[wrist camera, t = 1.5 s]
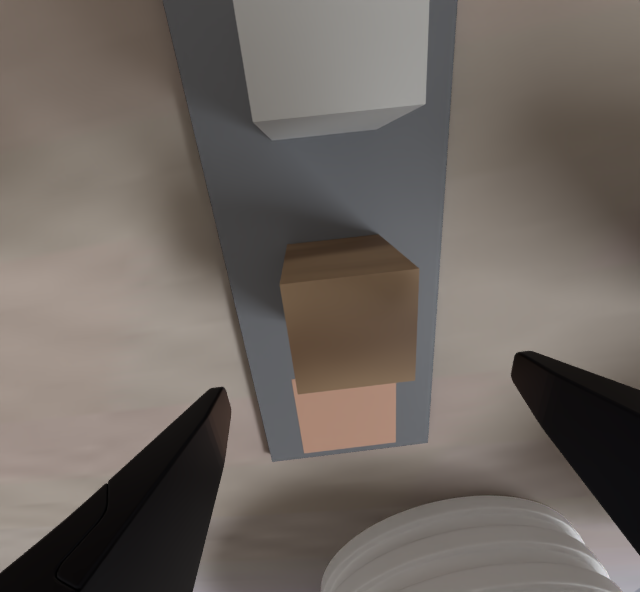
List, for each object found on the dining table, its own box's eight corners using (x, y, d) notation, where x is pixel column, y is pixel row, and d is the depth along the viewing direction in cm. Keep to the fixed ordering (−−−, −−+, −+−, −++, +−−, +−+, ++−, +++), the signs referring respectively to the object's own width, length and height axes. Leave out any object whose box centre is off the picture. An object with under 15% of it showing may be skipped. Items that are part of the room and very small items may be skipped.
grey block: (251, 2, 12) (209, -141, 6) (374, -11, 12) (435, -161, 7) (271, 140, 14) (252, 122, 8) (376, 129, 14) (425, 103, 8)
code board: (159, -31, 12) (152, -41, 11) (454, -60, 12) (462, -71, 11) (273, 454, 23) (272, 461, 22) (424, 436, 23) (427, 443, 23)
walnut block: (286, 244, 16) (279, 284, 10) (378, 234, 16) (419, 268, 10) (298, 325, 18) (297, 394, 12) (380, 315, 18) (415, 380, 12)
